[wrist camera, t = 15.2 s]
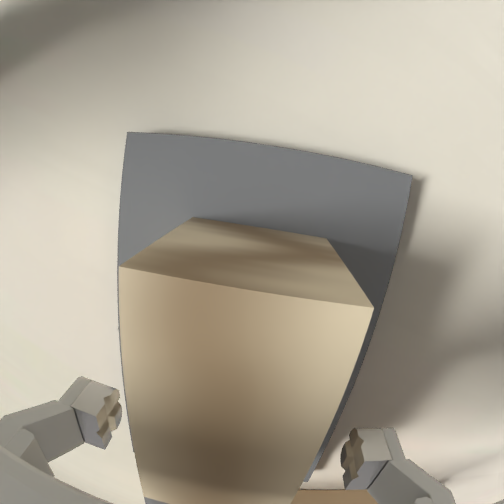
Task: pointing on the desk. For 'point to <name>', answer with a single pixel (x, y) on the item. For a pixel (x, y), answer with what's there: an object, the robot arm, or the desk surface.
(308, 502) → the light wooden open box
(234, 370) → the box
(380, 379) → the desk surface
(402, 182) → the mat
